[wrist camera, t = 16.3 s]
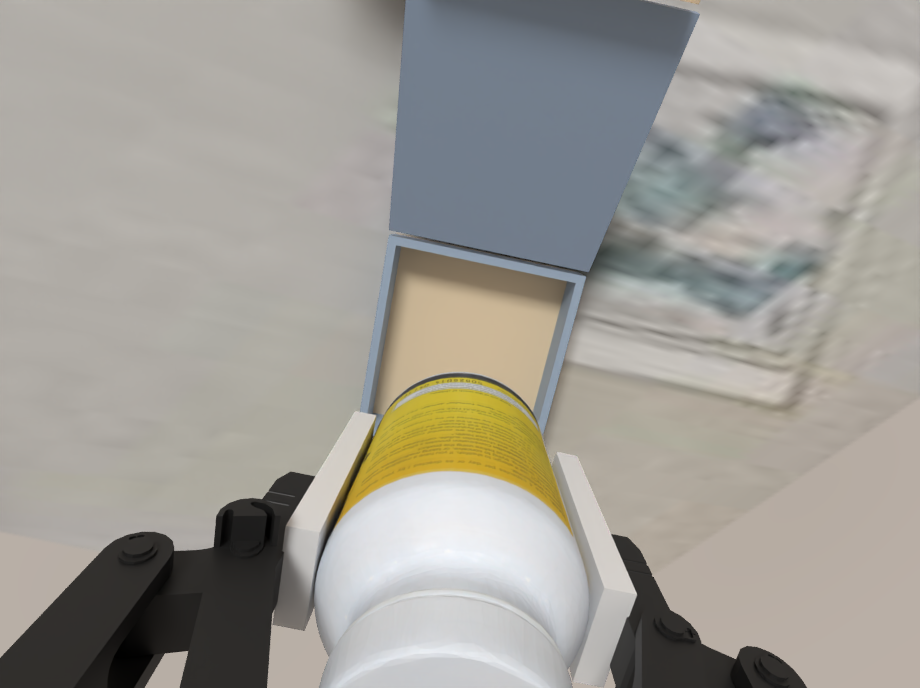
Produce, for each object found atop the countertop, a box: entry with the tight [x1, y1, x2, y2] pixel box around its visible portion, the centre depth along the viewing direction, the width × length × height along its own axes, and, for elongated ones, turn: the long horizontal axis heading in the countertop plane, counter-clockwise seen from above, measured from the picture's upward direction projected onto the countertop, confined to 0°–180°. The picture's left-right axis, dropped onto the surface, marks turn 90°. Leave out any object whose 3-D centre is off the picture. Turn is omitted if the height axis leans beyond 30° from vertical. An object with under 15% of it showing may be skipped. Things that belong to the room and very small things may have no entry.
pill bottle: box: [314, 372, 589, 688], centre depth 14 cm, size 6×6×12 cm
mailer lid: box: [389, 0, 700, 272], centre depth 24 cm, size 12×14×2 cm
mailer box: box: [360, 233, 586, 436], centre depth 32 cm, size 12×13×3 cm
